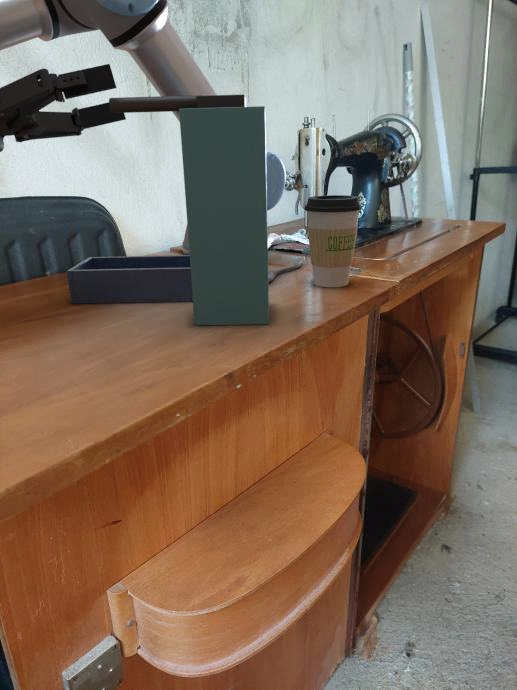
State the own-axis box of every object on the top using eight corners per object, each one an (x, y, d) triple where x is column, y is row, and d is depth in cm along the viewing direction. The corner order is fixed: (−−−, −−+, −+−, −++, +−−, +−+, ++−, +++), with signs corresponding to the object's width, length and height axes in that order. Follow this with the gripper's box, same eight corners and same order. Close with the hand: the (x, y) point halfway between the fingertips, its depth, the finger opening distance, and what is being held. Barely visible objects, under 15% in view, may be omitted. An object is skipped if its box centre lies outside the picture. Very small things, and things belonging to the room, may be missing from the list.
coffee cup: (357, 290, 88) (362, 200, 83) (300, 289, 90) (300, 200, 85) (359, 277, 97) (362, 194, 92) (307, 276, 99) (307, 195, 94)
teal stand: (268, 305, 81) (265, 110, 71) (268, 324, 73) (264, 106, 63) (202, 307, 81) (189, 113, 71) (194, 325, 73) (178, 108, 63)
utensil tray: (214, 284, 95) (213, 254, 93) (208, 301, 85) (206, 268, 83) (93, 286, 96) (88, 257, 94) (71, 303, 85) (66, 271, 83)
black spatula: (246, 110, 70) (245, 96, 69) (244, 107, 64) (244, 91, 64) (117, 114, 70) (116, 99, 70) (105, 111, 65) (103, 95, 64)
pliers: (301, 257, 111) (301, 280, 92) (301, 261, 111) (301, 284, 92) (256, 258, 111) (247, 280, 93) (256, 262, 112) (247, 285, 93)
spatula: (270, 264, 108) (270, 251, 107) (251, 264, 108) (250, 251, 107) (281, 243, 134) (281, 232, 133) (266, 243, 134) (266, 232, 133)
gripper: (2, 174, 82) (133, 143, 85) (-69, 132, 58) (117, 90, 61) (-14, 126, 81) (119, 96, 84) (-94, 62, 57) (97, 23, 59)
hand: (118, 94), depth 72 cm, fingers open, 13 cm apart
